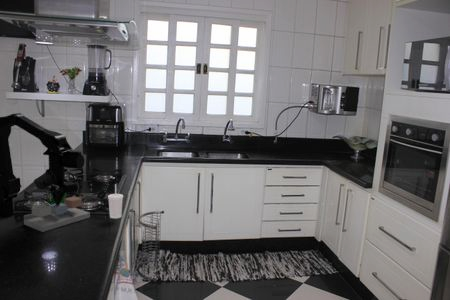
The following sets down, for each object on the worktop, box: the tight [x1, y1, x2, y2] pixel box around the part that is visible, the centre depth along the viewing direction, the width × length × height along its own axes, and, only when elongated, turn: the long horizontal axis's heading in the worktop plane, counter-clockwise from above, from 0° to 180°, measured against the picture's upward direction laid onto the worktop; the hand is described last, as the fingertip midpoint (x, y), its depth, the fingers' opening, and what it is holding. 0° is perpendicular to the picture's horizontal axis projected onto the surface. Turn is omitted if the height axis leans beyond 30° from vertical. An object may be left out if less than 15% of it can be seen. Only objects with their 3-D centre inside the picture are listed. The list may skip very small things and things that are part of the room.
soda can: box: [46, 182, 67, 204], centre depth 176 cm, size 8×8×12 cm
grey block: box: [31, 203, 51, 217], centre depth 152 cm, size 5×5×3 cm
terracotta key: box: [64, 196, 83, 208], centre depth 164 cm, size 5×5×3 cm
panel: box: [23, 207, 91, 233], centre depth 159 cm, size 12×21×4 cm, turn 147°
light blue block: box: [48, 203, 67, 215], centre depth 158 cm, size 5×5×3 cm
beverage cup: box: [107, 183, 124, 219], centre depth 166 cm, size 6×6×14 cm
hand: (57, 205), depth 158 cm, fingers closed, pressing on light blue block
